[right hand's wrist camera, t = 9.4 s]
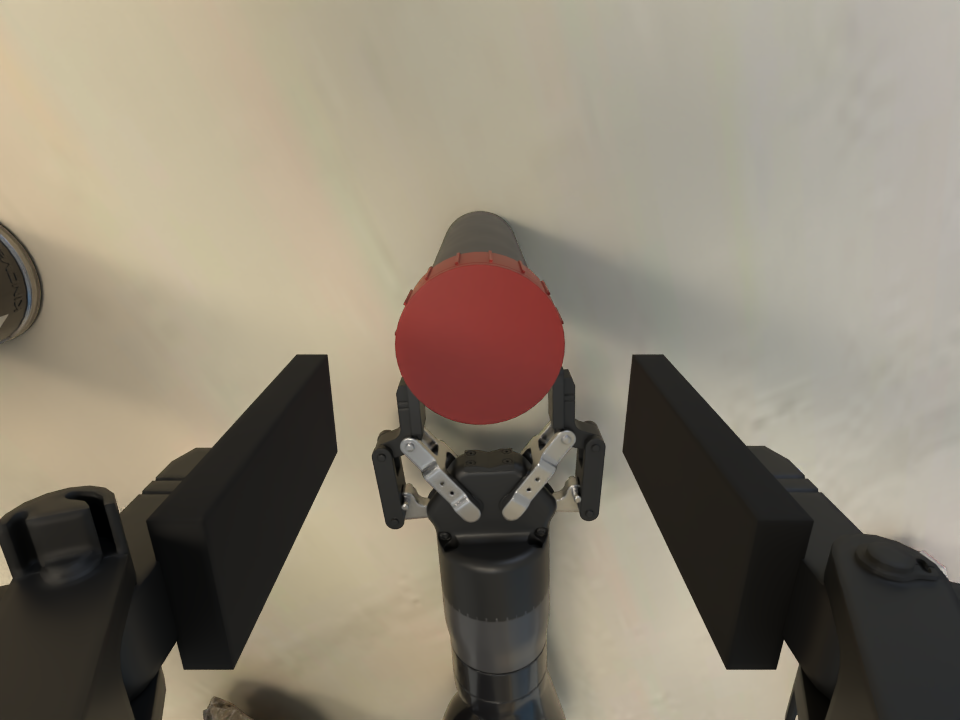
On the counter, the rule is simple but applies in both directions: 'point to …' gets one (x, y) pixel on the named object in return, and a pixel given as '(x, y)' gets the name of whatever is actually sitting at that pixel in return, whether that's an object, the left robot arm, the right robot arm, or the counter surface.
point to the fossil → (223, 711)
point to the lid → (480, 339)
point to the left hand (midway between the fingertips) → (483, 368)
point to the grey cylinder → (479, 237)
